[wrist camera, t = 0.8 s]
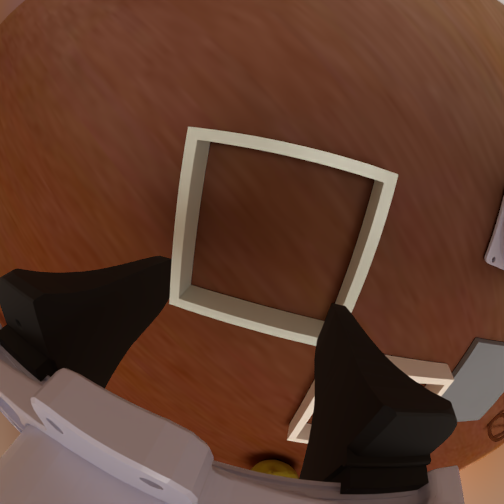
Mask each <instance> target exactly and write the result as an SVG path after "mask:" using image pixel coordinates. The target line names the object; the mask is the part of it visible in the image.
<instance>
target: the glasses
mask: <svg viewBox="0 0 504 504" xmlns="http://www.w3.org/2000/svg"><path fill="white" fill-rule="evenodd" d="M499 417H504V413H501V414H498V415H497V416H495V417H494V418H493V419H492V420H491V422H490V424H489V426H488V435H489V438H490V439H491V440H492V441H495V442H497V441H500V440H502V439H503V438H504V431H503V432H501V433H499V434H497V435H495V436H493V435H492V433H491V427H492V424H493V423H494V421H495V420H496V419H497V418H499ZM502 435H503V436H502ZM500 436H501V437H500ZM498 437H500V438H498Z"/></svg>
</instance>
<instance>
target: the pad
mask: <svg viewBox="0 0 504 504" xmlns="http://www.w3.org/2000/svg"><path fill="white" fill-rule="evenodd" d="M452 375H453V378H454V381H453V382H452V384H451V385H450V386H449V387H448V389H447V390H446V391H445V392H444V394H443V395H442V396H441V397H443V398H445V399H447V400H449V401H451V403H452V406H453V409H454V412H455V415H456V418H457V422H459V421H471V420H479V419H480V418H481V417H482V416H483V415H484V414H485V413H486V412H487V411H488V410H489V408H490V407H491V406H492V405H493V404H494V403H495V402H496V401H497V399H498V398H499V397H500V396H501V395H502V393H503V392H504V342H499V341H493V340H487V339H481V338H475V339H474V341H473V343H472V344H471V346H470V347H469V349H468V350H467V352H466V353H465V355H464V356H463V358H462V359H461V361H460V362H459V364H458V365H457V367H456V368H455V369H454V371H453V372H452Z"/></svg>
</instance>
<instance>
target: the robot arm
mask: <svg viewBox="0 0 504 504" xmlns="http://www.w3.org/2000/svg"><path fill="white" fill-rule="evenodd" d="M493 257H494V258H493ZM492 258H493V260H492ZM485 261H486V262H487V263H488V264H490V265H493V266H495V267H498V268H500V269H502V270H504V196H503V200H502V204H501V208H500V211H499V215H498V218H497V222H496V225H495V228H494V231H493V234H492V237H491V240H490V243H489V246H488V249H487V252H486V254H485ZM171 263H172V259H169V258H166V257H162V256H155V257H150V258H146V259H142V260H138V261H134V262H130V263H126V264H122V265H118V266H113V267H109V268H104V269H99V270H92V271H85V272H69V273H49V272H36V271H29V270H22V269H15V270H12V271H11V272H9V273H7V274H5V275H4V276H2V277H0V305H1V308H2V311H3V314H4V317H5V320H6V323H7V325H6V326H4V327H3V328H2V326H1V324H0V411H1V412H2V413H3V414H4V416H5V417H6V418H7V419H8V420H9V421H10V422H11V423H12V425H13V426H14V427H15V428H16V429H17V430H18V431H19V432H20V433H21V434H20V435H19V436H18V437H17V438H16V440H15V441H14V442H13V443H12V444H11V446H10V447H9V448H8V449H7V450H6V452H5V453H4V454H3V455H2V457H1V458H0V504H464V498H463V492H462V486H461V480H460V475H459V470H458V466H451V467H445V468H438V469H434V470H432V471H429V472H427V467H426V465H428V464H430V462H431V458H430V453H431V452H433V451H434V450H435V449H436V448H437V447H439V446H440V445H441V444H442V443H443V442H444V441H445V440H446V439H447V438H448V437H449V436H450V435H451V434H452V432H453V431H454V429H455V427H456V425H457V418H456V415H455V412H454V409H453V406H452V403H451V401H449V400H447V399H445V398H443V397H441V396H439V395H437V394H435V393H433V392H431V391H430V390H428V389H427V388H425V387H423V386H422V385H420V384H419V383H417V382H416V381H414V380H413V379H412V378H410V377H409V376H408V375H406V374H405V373H404V372H403V371H402V370H400V369H399V368H398V367H397V366H396V365H394V364H393V363H392V362H391V361H390V360H389V359H388V358H387V357H386V356H385V355H384V354H383V353H382V352H381V351H380V350H379V348H378V347H377V346H376V345H375V344H374V343H373V341H372V340H371V339H370V338H369V336H368V335H367V334H366V333H365V331H364V330H363V329H362V327H361V326H360V325H359V323H358V322H357V321H356V319H355V318H354V316H353V315H352V314H351V312H350V311H349V310H348V309H347V307H346V306H343V305H339V304H335V303H332V304H331V307H330V309H329V312H328V314H327V317H326V319H325V322H324V324H323V327H322V329H321V331H320V334H319V336H318V339H317V344H316V351H315V398H314V411H313V418H312V424H311V430H310V436H309V441H308V446H307V450H306V454H305V459H304V463H303V467H302V470H301V474H300V477H299V479H295V478H288V477H282V476H276V475H271V474H265V473H261V472H256V471H251V470H247V469H243V468H239V467H235V466H231V465H228V464H224V463H221V462H217V461H214V460H213V459H214V457H213V455H212V453H211V450H210V448H209V446H208V445H207V443H205V442H204V441H203V440H202V439H200V438H199V437H198V436H197V435H195V434H194V433H193V432H192V431H190V430H188V429H186V428H184V427H182V426H180V425H178V424H176V423H174V422H172V421H170V420H168V419H166V418H164V417H161V416H159V415H157V414H154V413H152V412H150V411H148V410H145V409H143V408H141V407H139V406H137V405H135V404H133V403H131V402H129V401H127V400H125V399H123V398H121V397H119V396H117V395H115V394H113V393H112V392H110V391H108V390H106V389H105V387H106V385H107V383H108V381H109V379H110V378H111V376H112V374H113V373H114V371H115V369H116V368H117V366H118V364H119V363H120V361H121V360H122V358H123V357H124V355H125V354H126V352H127V351H128V349H129V348H130V347H131V345H132V344H133V343H134V342H135V341H136V340H137V338H138V337H139V336H140V335H141V334H142V333H143V332H144V331H145V329H146V328H147V327H148V326H149V325H150V324H151V323H152V321H153V320H154V319H155V318H156V317H157V316H158V315H159V313H160V312H161V310H162V309H163V307H164V306H165V304H166V303H167V301H168V299H169V298H170V280H171Z"/></svg>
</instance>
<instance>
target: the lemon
mask: <svg viewBox="0 0 504 504" xmlns="http://www.w3.org/2000/svg"><path fill="white" fill-rule="evenodd" d="M251 471H256V472H261V473H265V474H271V475H276V476H282V477H288V478H295V479H298V475H297V473H296V471H295V470H294V469H293V468H292V467H291V466H290V465H288V464H286V463H284V462H282V461H279V460H264V461H261V462H259V463H258V464H256V465H255V466H254V467H253V468H252V469H251Z"/></svg>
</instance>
